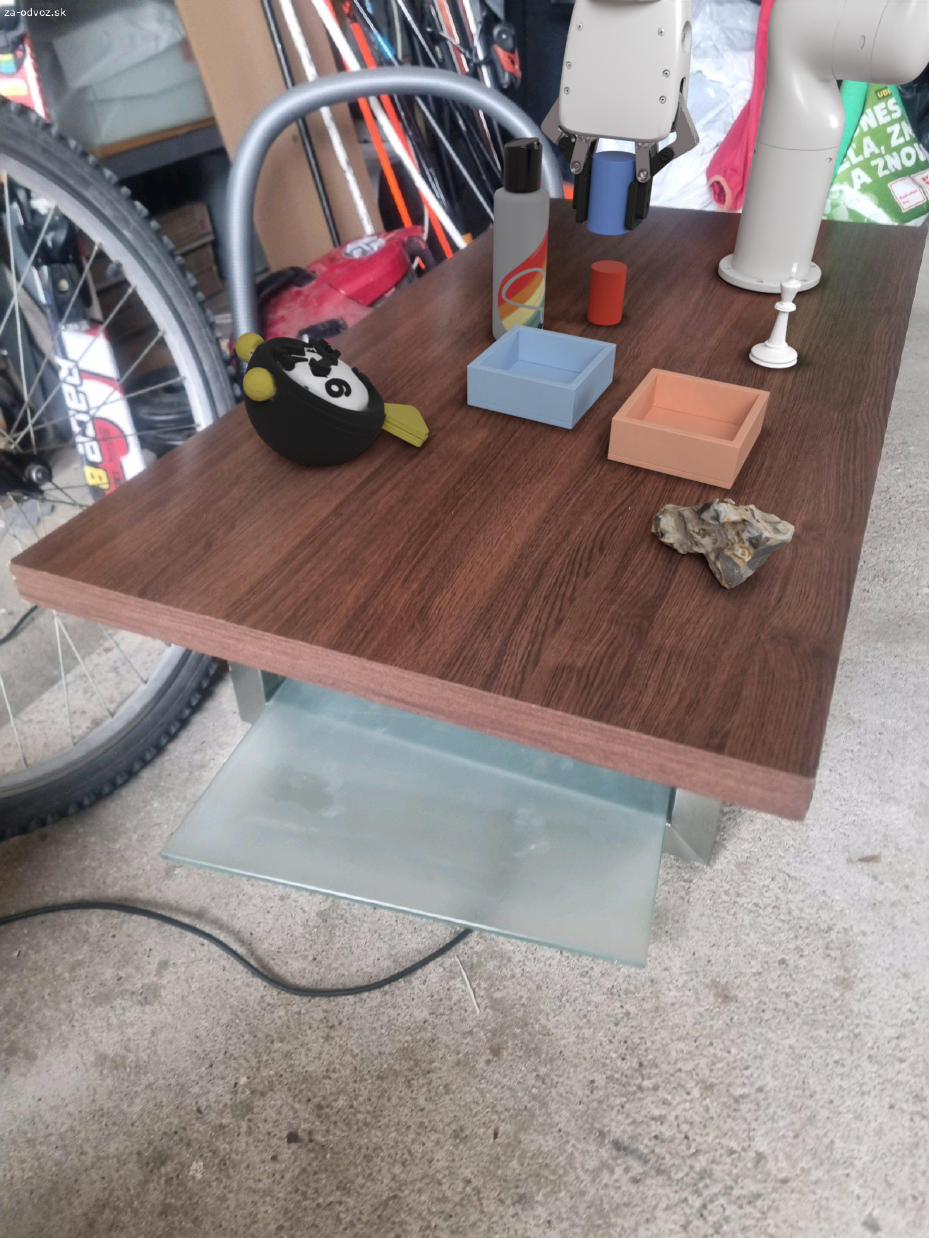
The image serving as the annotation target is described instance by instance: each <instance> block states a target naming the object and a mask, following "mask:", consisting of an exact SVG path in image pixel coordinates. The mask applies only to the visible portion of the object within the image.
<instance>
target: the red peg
mask: <svg viewBox="0 0 929 1238" xmlns="http://www.w3.org/2000/svg"><path fill="white" fill-rule="evenodd" d="M627 272H628V266H627V265H626V264H625V263H623V262H620V261H617V260H611V259H610V260H599V261H595V262H593V263H592V264H591V266H590V277H589V289H588V301H587V310H586V311H587V312H586V320H587V321H588V322H589V323H591V324H593V325H598V326H613V325H617V324H619V323H621V321H622V317H623V307H624V299H625V289H626V281H627Z"/></svg>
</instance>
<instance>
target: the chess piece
mask: <svg viewBox="0 0 929 1238" xmlns="http://www.w3.org/2000/svg"><path fill="white" fill-rule="evenodd" d="M797 265H798V263H795V262H793V266H792V270H791V275H790V279H785V280H783V281H781V283H780V288H781V293H780V298H781V300H780V301H777V302H776V303H775V304H774V306H773V307H774V309H775V310H777V311H778V314H777V317H776V319H775V322H774V324H773V328H772V330H771V333H770V335H769V338H768V339H767V340H765V341H764V342H759V343H757V344H755V345H753V347H752V346H751V349H750V352H749V353H748V357H749V359H750V361H752V362H753V363H755V364H756V365H759V366H761V367H765V368H771V369H787V368H791V367H792V366H793V367H794V365H796V364H797V362H798V359H797V358H798V352H797V351H796V350H795V349H794V348H793V347H791V346H790V345H788V343H787V342H786V337H787V329H788V327H787V326H788V320H789V314H790V313H791V312H794V311H796V309H797V307H796V306H797V305H796V304H795V303H794V302H793V300H795V297H796V295H797V293H799V292H798V290H799V289H800V287H801V283H800V282H799V281H797V280H795V279H794V278H795V274H796V269H797Z"/></svg>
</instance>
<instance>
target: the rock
mask: <svg viewBox="0 0 929 1238" xmlns="http://www.w3.org/2000/svg"><path fill="white" fill-rule="evenodd" d="M719 500H720V499H719V498H715V499H714V501H709V502H708V501H706V502H704V503H702V504H696V505H693V506H682V505H676V504H672V503H666V504H663V505H662V506H661V508H660V509H659V510H658V512H657V513H656V514H655V515H653V517H652V526H651V530H650V532H651V533H652V534H654V535H656V537H657V538H658V540H659V541H660V542H661V543H662V544H664V545H667V546H669V547H670V548H672V549H674V550H676V551H677V552H678V553H680V554H683V555H684V554H685V555H686V554H688V553H691V554H702V555H703V556H704V557H705V559H706V560H707V563H708V566H709V568H710V570H711V572H712V573H713V575H714V576H715V578H716V580H717V581H718V582H719V583H720V585H721V586H722V587H723V588H725V589H727V590H731V589H733V588H735V587H737V586H739V585H741V584H743V583H744V582H745V581H746V580H747V578H748V577H750V576H752V575H753V574H754V572H755V571H756V570H757V569H759V568H761V567H762V566H763V565H765V563H766V562H767V560H768V558H769V557H770V555H771V553H773V552H775V551H777V550H780V549H782V548H784V547H786V546H787V545H788V544H789V543H790V542H792V539H793V535H794V533H795V525H794V524H791V523H789V522H788V521H786V520H783V519H781V518H779V517H778V516H777V515H775V514H773V513H770V512H763V511H761V510H760V509H758V508H757V507H756V505H755V504H751V503H749V504H747V505H742V504H739V505H737V506H736V505H735V504H736V502H735V501H734V500H732V499H731V498H727V497H725V498H723V501H725V502H719Z"/></svg>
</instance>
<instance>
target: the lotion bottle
mask: <svg viewBox="0 0 929 1238" xmlns="http://www.w3.org/2000/svg"><path fill="white" fill-rule="evenodd" d="M543 150H544V147H543V144H542V142H540V138H539V137H537V136H530V137H527V136H526V137H524V136H523V137H518V138H515V139H511V140H509V141H508V142H507V143H505V144H504V148H503V187H499V188H498V189H496V190H495V192H494V194H493V241H492V242H493V243H492V244H493V245H492V246H493V247H492V249H493V250H492V252H493V253H492V336H493V338H494V339H495V340H496V341H497V340H498V339H499V338H500V337H501V336H503V335H504V334H505V333H506V332H507V331H508V330H510V329H511V328H512V327H513V326H514V325H516V324H518V325H523V326H528V327H533V328H538V329H543V330H544V318H545V317H544V316H545V301H546V300H545V298H546V280H547V279H546V278H547V277H546V276H547V259H548V244H549V243H548V242H549V240H548V239H549V224H550V223H549V221H550V202H551V201H550V200H551V199H550V198H551V197H550V191H548V189H546V188H544V187H541V186H542V169H543Z"/></svg>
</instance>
